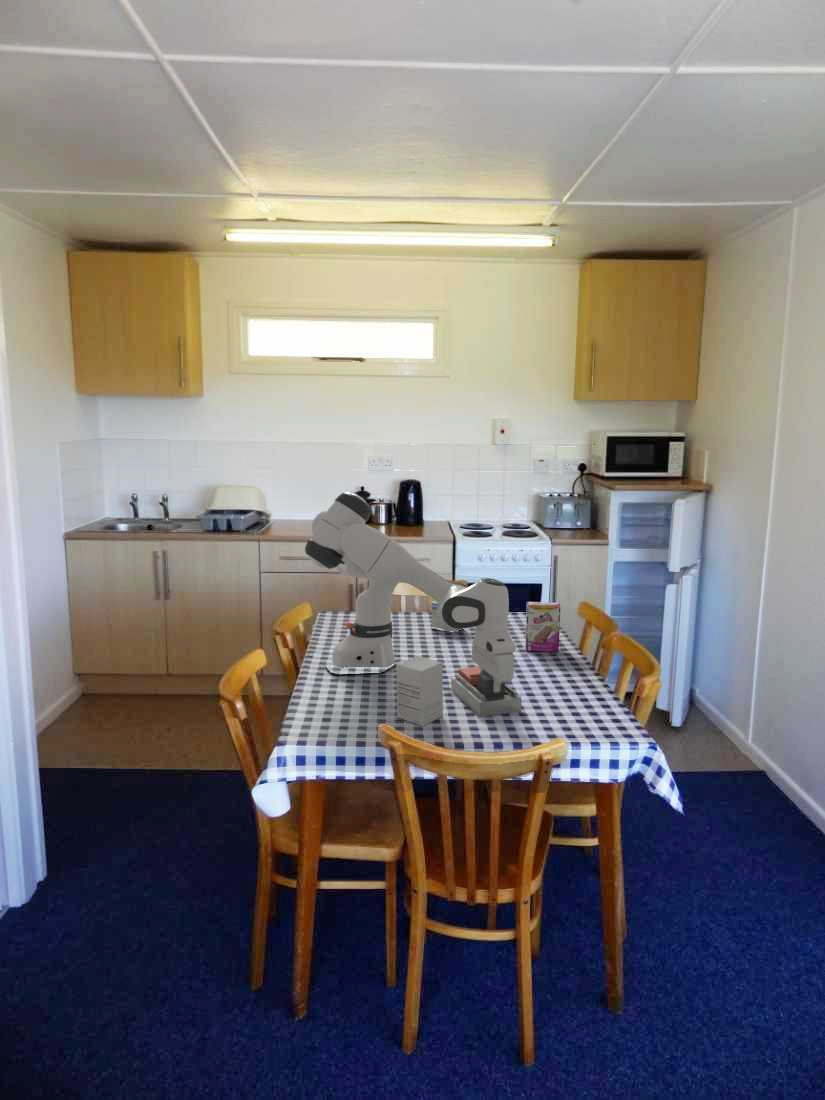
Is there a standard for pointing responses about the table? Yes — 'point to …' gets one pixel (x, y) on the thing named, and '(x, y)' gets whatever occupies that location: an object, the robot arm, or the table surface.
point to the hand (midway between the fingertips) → (491, 687)
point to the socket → (482, 704)
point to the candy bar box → (542, 627)
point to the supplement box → (419, 690)
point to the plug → (488, 685)
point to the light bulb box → (439, 618)
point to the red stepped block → (470, 674)
